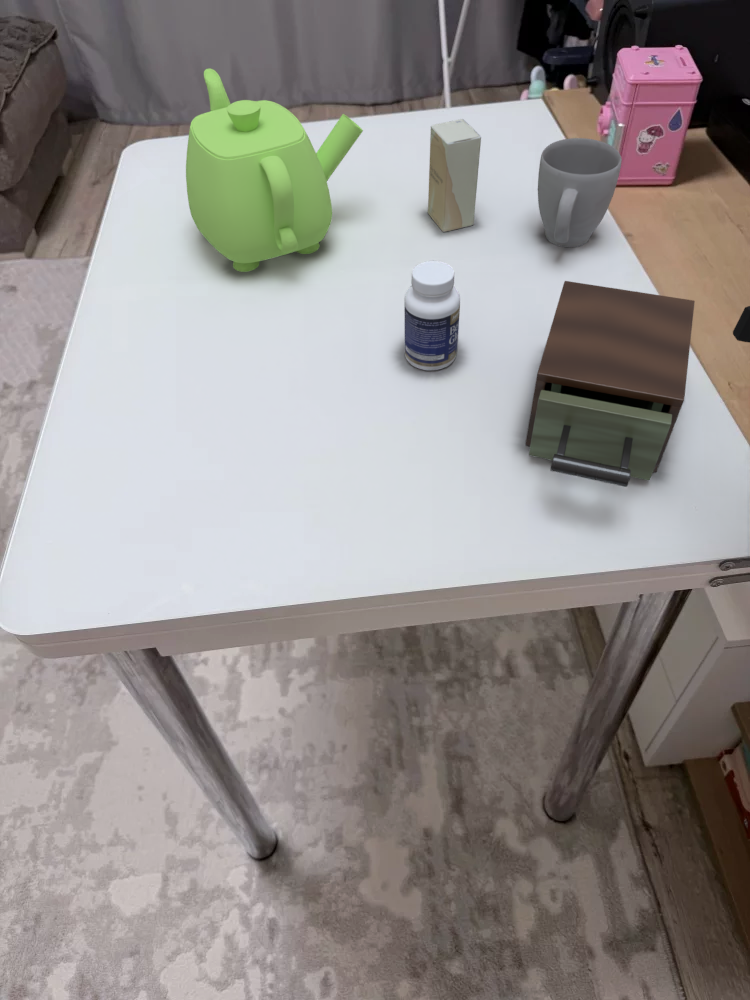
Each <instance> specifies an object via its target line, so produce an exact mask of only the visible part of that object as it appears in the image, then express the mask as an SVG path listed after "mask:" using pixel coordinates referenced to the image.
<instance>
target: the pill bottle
mask: <svg viewBox="0 0 750 1000" xmlns="http://www.w3.org/2000/svg"><path fill="white" fill-rule="evenodd" d="M410 283H411V285H410V286H409V287H408V288H407V290H406V291H405V294H404V298H403V299H404V304H403V306H404V307H403V308H404V310H403V311H404V357H405V359H406V360H407V362H408V363H409V364H410V365H411V366H413V367H414V368H417V369H419V370H423V371H438V370H441V369H444V368H447V367H449V366H450V365H452V363H454V362H455V359H456V358H457V354H458V345H459V344H458V343H459V329H460V314H461V313H460V312H461V296H460V293H459V291H458V289H457V288H456V286H455V270H454V268H453V267H452V266H451V265H450V264H448V263H447V262H443V261H440V260H426V261H422V262H420V263H418V264H416V265H415V266H414V267H413V268H412V270H411V280H410Z"/></svg>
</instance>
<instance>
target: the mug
mask: <svg viewBox="0 0 750 1000" xmlns="http://www.w3.org/2000/svg"><path fill="white" fill-rule="evenodd" d="M539 159H540V160H539V166H538V174H537V175H538V177H537V178H538V179H537V202H538V203H537V204H538V211H539V216H540V219H541V222H542V223H541V224H542V226H543V229H544V235H545V239H546V240H547V241H548V242H549V243H551V244H553V245H556V246H557V247H562V248H576V247H580V246H581V247H582V246H583V245H585V244H587V243H588V242H589V240H590V239H591V237H592V235H593V233H594V232H595V230H596V229H597V228H598V226H599V225H600V224H601V221H602V220H603V219H604V217H605V215H606V213H607V211H608V209H609V208H610V207H609V206H610V204H611V202H612V200H613V197H614V194H615V191H616V188H617V184H618V182H619V181H618V180H619V177H620V172H621V169H622V161H623V159H622V156H621V153H620V152H619V150H618V149H617V148H615V147H614V146H613V145H610V144H609V143H606V142H605V141H601V140H597V139H593V138H586V137H569V138H564V139H560V140H556V141H554V142H552V143H550V144H548V145H547V146H545V148H544V149H543V150H542V152H541V155H540V158H539Z"/></svg>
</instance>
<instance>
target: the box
mask: <svg viewBox="0 0 750 1000" xmlns="http://www.w3.org/2000/svg"><path fill="white" fill-rule="evenodd" d="M429 138H430V139H429V164H428V165H429V170H428V196H427V197H428V198H427V214H428V215H429V217H430V218H431V219H432V221H434V223H435V224H436V226H438V228H439V229H440V230H441V231H442V232H443V233H446V232H450V231H455V230H460V229H462V228H466V227H467V228H468V227H471V226H474V224H475V212H476V202H477V201H476V200H477V191H478V180H479V179H478V177H479V166H480V157H481V156H480V154H481V144H482V136H481V134H480V133H478V132H477V131H476V129H474V128H473V126H471V125H470V124H469V123H468V122H467V121H466V120H465V119H464V118H460V119H454V120H451V121H445V122H439V123H436V124H432V125H430V137H429Z"/></svg>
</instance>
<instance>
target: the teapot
mask: <svg viewBox="0 0 750 1000" xmlns="http://www.w3.org/2000/svg"><path fill="white" fill-rule="evenodd" d="M203 78H204V79H203V80H204V82H205V86H206V88H207V94H208V99H209V100H208V101H209V109H210V111H207V112H204V113H201V114H198V115H196V116H195V117H194V118H193V119H192V120H191V122H190V126H189V131H188V138H187V148H186V159H185V181H186V193H187V202H188V206H189V211H190V215H191V218H192V220H193V222H194V224H195V226H196V228H197V230H198V231H199V233H200V234H201V236H203V238H205V240H206V241H207V242H208V243H209V244H210V245H211V246H212V247H213V248H214V249H215V250H216V251H217V252H218V253H219V254H221V255H222V256H223V257H225V258H226V259H228V260H230V261H232V267H233V270H235V271H237V272H241V273H247V272H252V271H254V270H256V269H257V268H258V267H259V266H260V262H262V261H263V262H264V261H267V260H270V259H274V258H278V257H282V256H286V255H289V254H292V253H295V252H296V253H298V254H301V255H310V254H313V253H316V252H317V251H318V250H319V249H320V246H321V245H320V242H322V241H323V240H324V238H325V237H326V235H327V233H328V231H329V229H330V227H331V223H332V219H333V207H332V206H333V205H332V199H331V194H330V189H329V184H328V180H329V179H330V178H331V177H332V175H333V174H334V173H335V171H336V170H337V168H338V167H339V165H340V164H341V162H342V161H343V160H344V158H345V157H346V156H347V154H348V153H349V151H350V150H351V148H352V147H353V145H354V144H355V143H356V142H357V140H358V139H359V137H360V136H361V135H362V133H363V132H364V129H363V128H362V127H361V126H360V125H359V124H357V122H355V121H354V120H353V119H351V118H350V117H349V116H348V115H346V114H344V113H342V114H341V116H340V117H339V118H338V120H337V122H336V123H335V124H334V126H333V127H332V128H331V130H330V132H329V134H328V135H327V137H325V139H324V141H323V143H322V144H321V146H320V147H318V148H319V149H318V150H317V152H316V150H315V148H314V145H313V143H312V142H311V140H310V137H309V135H308V134H307V132H306V129H305V128H304V126H303V124H302V123H301V122H300V120H299V118H297V117H296V115H294V114H293V112H292V111H290V110H289V109H287V108H286V107H285V106H283V105H281V104H279V103H277V102H274V101H272V100H266V99H263V100H252V99H251V100H250V99H241V100H237V101H234V102H232V103H231V102H230V99H229V97H228V94H227V91H226V89H225V86H224V84H223V81H222V78H221V76H220V75H219V73H218V72H217V71H216V70H215V69H213V68H211V67H210V68H206V69H204V71H203Z"/></svg>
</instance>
